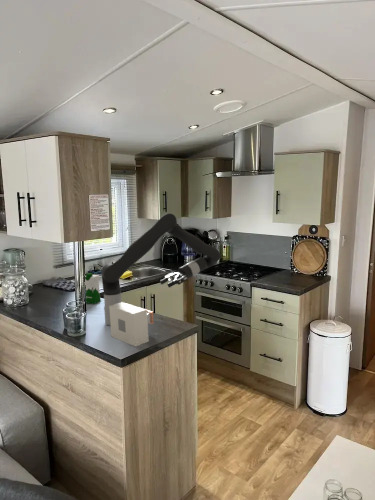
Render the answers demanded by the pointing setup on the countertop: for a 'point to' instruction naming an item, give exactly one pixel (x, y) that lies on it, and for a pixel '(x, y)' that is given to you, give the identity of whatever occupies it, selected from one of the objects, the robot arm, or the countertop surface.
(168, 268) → the countertop surface
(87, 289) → the milk carton
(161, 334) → the countertop surface
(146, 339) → the key box
